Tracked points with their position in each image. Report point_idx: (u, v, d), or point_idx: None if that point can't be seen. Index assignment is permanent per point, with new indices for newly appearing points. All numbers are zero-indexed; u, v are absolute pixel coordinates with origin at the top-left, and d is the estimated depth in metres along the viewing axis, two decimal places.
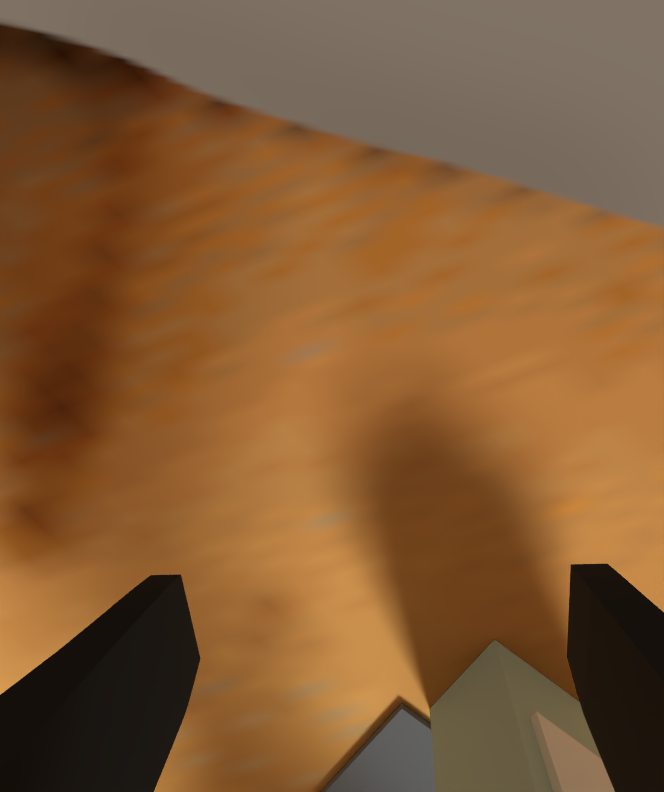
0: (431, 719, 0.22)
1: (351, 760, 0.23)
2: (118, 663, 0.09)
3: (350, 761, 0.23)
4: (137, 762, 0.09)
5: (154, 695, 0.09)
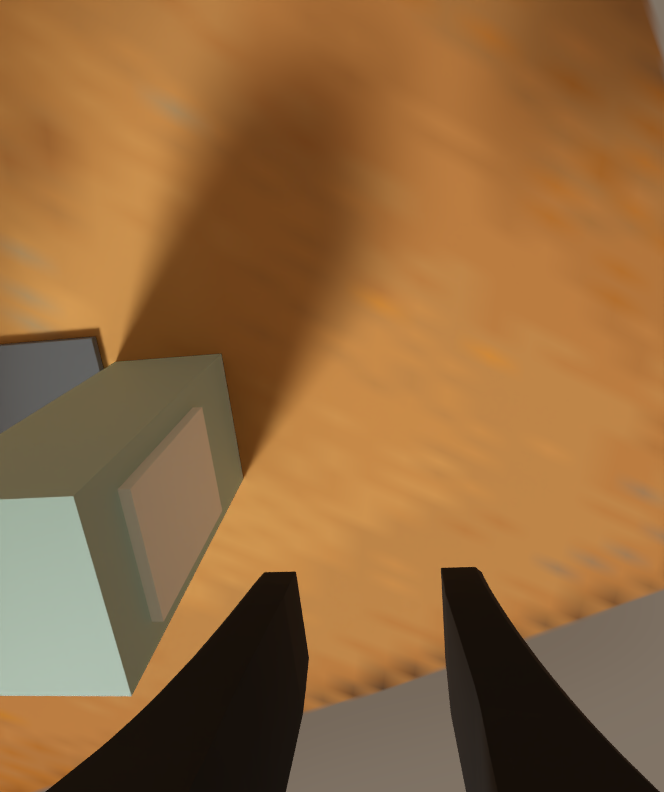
0: (109, 366, 0.20)
1: (7, 344, 0.21)
2: (261, 662, 0.08)
3: (5, 344, 0.21)
4: (274, 765, 0.09)
5: (283, 695, 0.09)
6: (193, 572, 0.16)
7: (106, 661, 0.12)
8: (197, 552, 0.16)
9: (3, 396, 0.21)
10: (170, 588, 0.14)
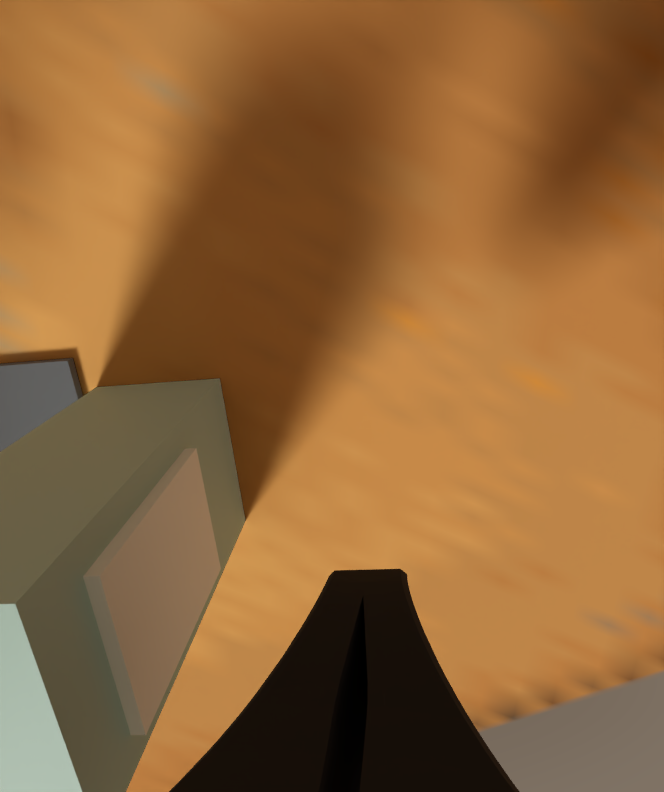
0: (88, 393, 0.17)
1: None
2: (351, 662, 0.08)
3: None
4: (360, 766, 0.08)
5: (364, 696, 0.09)
6: (186, 651, 0.14)
7: None
8: (190, 629, 0.13)
9: None
10: (155, 688, 0.11)
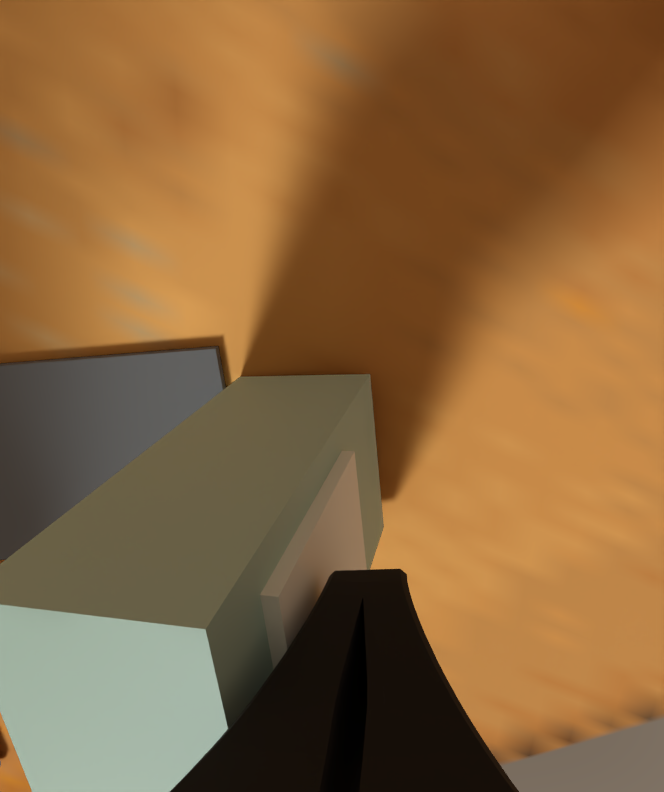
0: (233, 383, 0.17)
1: (109, 355, 0.17)
2: (351, 662, 0.08)
3: (107, 356, 0.17)
4: (360, 766, 0.08)
5: (364, 696, 0.09)
6: None
7: None
8: None
9: (102, 417, 0.18)
10: None
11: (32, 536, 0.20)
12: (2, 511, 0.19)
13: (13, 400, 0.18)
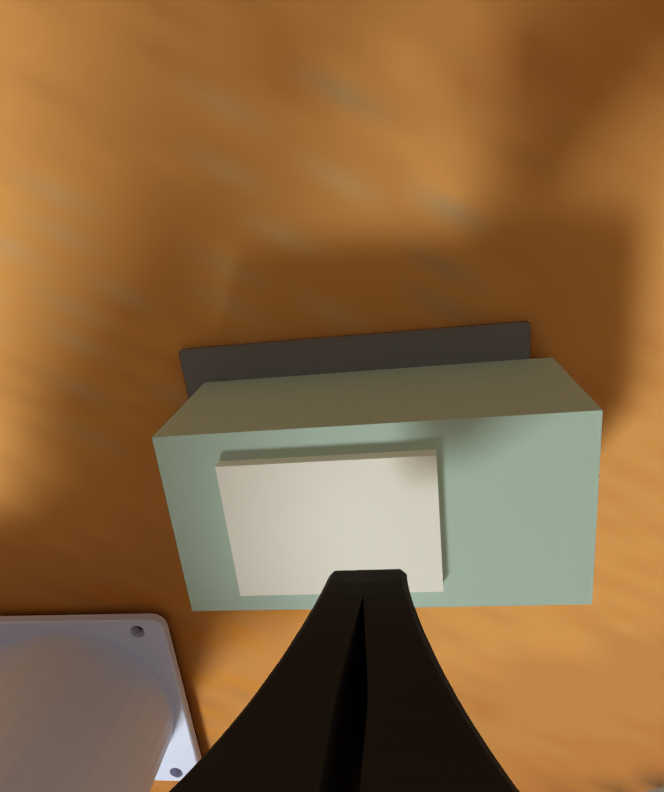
0: (529, 359, 0.16)
1: (405, 332, 0.16)
2: (350, 662, 0.08)
3: (402, 332, 0.16)
4: (360, 766, 0.08)
5: (364, 696, 0.09)
6: None
7: None
8: None
9: None
10: (263, 581, 0.14)
11: None
12: None
13: None
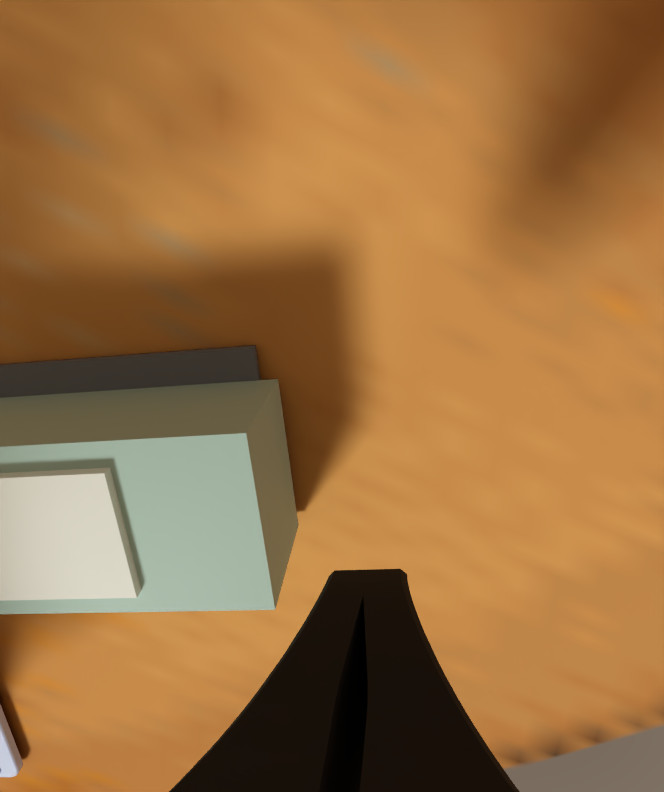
0: (257, 381, 0.17)
1: (146, 354, 0.17)
2: (350, 662, 0.08)
3: (143, 354, 0.17)
4: (360, 766, 0.08)
5: (364, 696, 0.09)
6: (70, 612, 0.15)
7: None
8: (49, 595, 0.15)
9: None
10: None
11: None
12: None
13: None
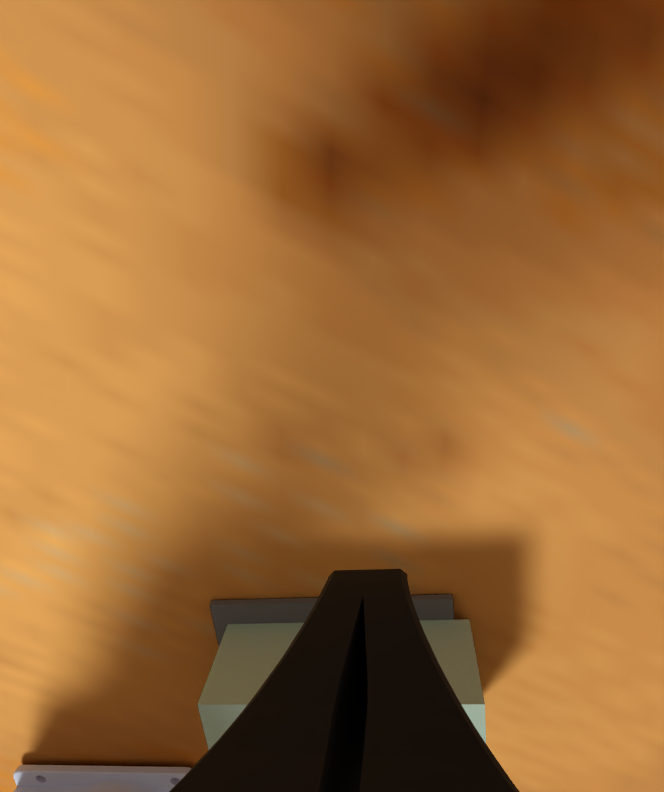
0: (453, 620, 0.23)
1: None
2: (350, 662, 0.08)
3: None
4: (360, 766, 0.08)
5: (364, 696, 0.09)
6: None
7: None
8: None
9: None
10: None
11: None
12: None
13: None
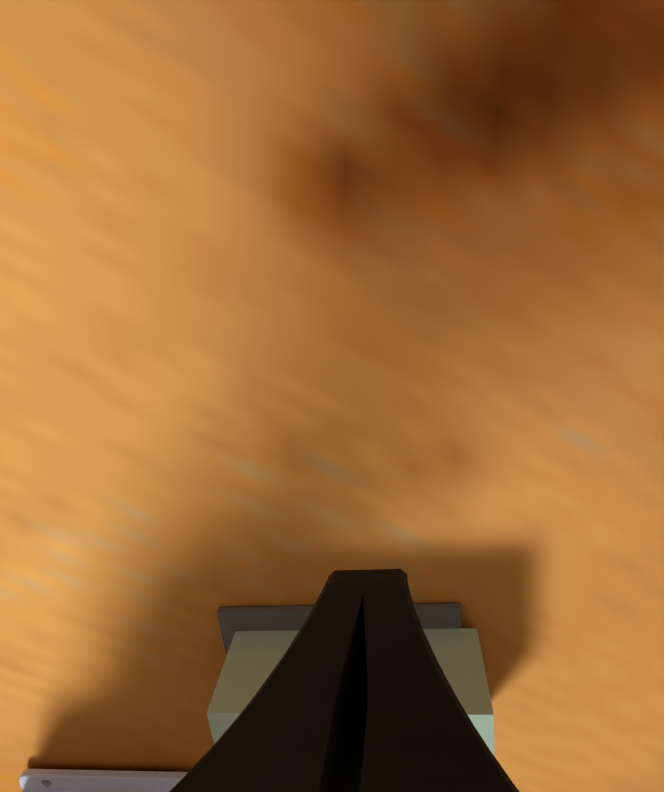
0: (461, 629, 0.23)
1: None
2: (350, 662, 0.08)
3: None
4: (360, 766, 0.08)
5: (364, 696, 0.09)
6: None
7: None
8: None
9: None
10: None
11: None
12: None
13: None
